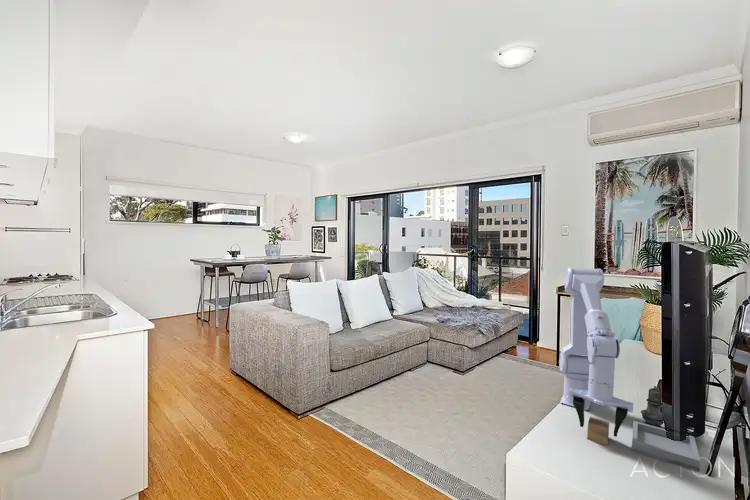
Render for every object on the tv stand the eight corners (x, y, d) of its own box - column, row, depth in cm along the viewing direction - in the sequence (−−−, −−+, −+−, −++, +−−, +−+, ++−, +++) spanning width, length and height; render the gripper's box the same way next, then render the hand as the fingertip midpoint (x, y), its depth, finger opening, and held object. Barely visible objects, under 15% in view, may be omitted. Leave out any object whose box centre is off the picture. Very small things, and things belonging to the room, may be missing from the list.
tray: (632, 429, 104) (633, 420, 104) (693, 446, 97) (694, 436, 97) (631, 450, 94) (632, 441, 94) (699, 471, 86) (700, 460, 86)
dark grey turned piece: (654, 433, 103) (657, 390, 102) (634, 422, 108) (637, 382, 108) (670, 430, 104) (673, 389, 103) (650, 420, 110) (652, 380, 109)
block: (589, 432, 103) (590, 416, 102) (608, 437, 100) (609, 421, 100) (587, 439, 99) (588, 422, 99) (606, 445, 96) (607, 428, 96)
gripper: (568, 377, 100) (565, 427, 100) (633, 392, 91) (630, 446, 92) (572, 370, 105) (569, 417, 106) (634, 383, 97) (631, 434, 97)
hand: (598, 430), depth 99 cm, fingers open, 7 cm apart
